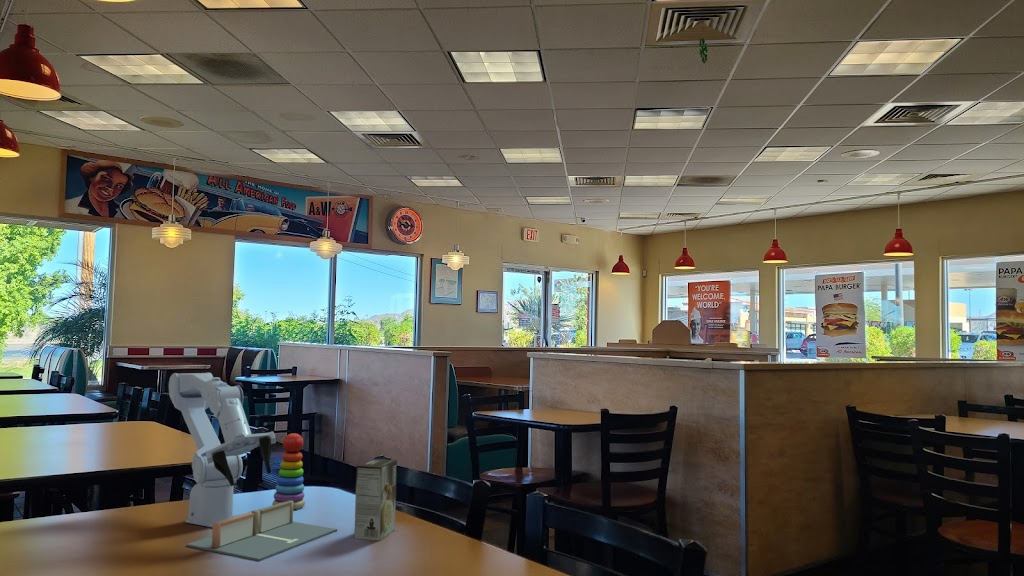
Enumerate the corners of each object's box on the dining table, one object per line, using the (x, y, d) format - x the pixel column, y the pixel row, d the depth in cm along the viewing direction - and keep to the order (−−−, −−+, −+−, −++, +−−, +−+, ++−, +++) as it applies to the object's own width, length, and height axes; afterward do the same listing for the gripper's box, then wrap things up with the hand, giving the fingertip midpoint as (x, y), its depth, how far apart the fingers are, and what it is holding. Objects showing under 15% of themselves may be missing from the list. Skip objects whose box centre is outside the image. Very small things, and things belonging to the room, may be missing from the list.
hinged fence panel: (247, 534, 155) (248, 512, 155) (253, 535, 154) (254, 513, 154) (209, 546, 145) (211, 523, 146) (215, 548, 145) (216, 524, 145)
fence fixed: (248, 536, 155) (249, 511, 155) (288, 523, 166) (289, 499, 167) (254, 537, 154) (255, 512, 155) (294, 524, 166) (295, 500, 166)
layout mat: (186, 546, 147) (186, 543, 148) (269, 519, 169) (269, 517, 169) (259, 561, 139) (259, 558, 139) (337, 530, 161) (337, 528, 161)
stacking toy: (286, 513, 175) (289, 436, 177) (265, 507, 180) (268, 433, 181) (311, 506, 182) (314, 433, 183) (290, 502, 186) (293, 430, 188)
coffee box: (369, 527, 164) (372, 457, 165) (395, 530, 163) (398, 459, 164) (353, 539, 155) (355, 465, 156) (380, 541, 154) (383, 466, 155)
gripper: (199, 427, 154) (213, 478, 146) (267, 408, 161) (284, 455, 152) (203, 446, 159) (216, 496, 150) (268, 427, 165) (285, 473, 157)
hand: (250, 477), depth 152 cm, fingers open, 7 cm apart
